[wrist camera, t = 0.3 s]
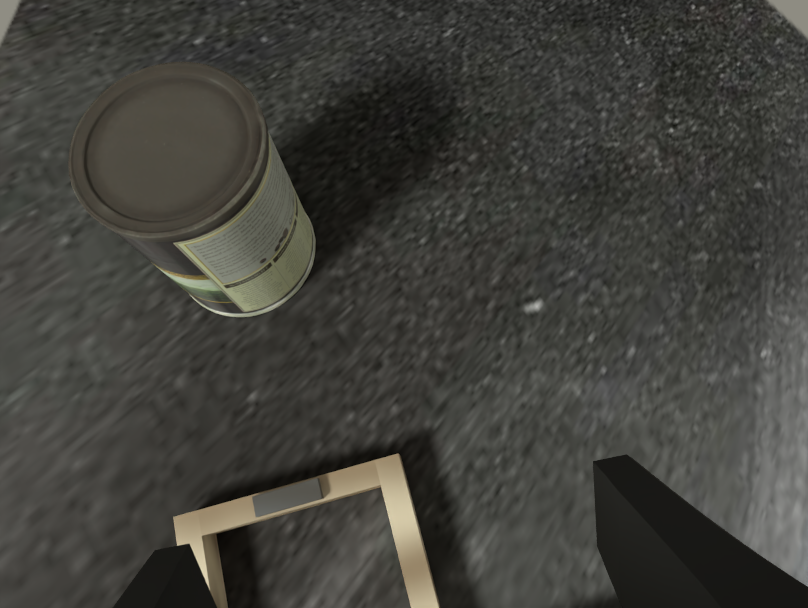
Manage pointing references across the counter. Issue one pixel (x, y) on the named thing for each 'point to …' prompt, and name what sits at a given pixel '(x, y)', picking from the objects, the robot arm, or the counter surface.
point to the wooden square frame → (309, 493)
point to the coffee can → (195, 186)
